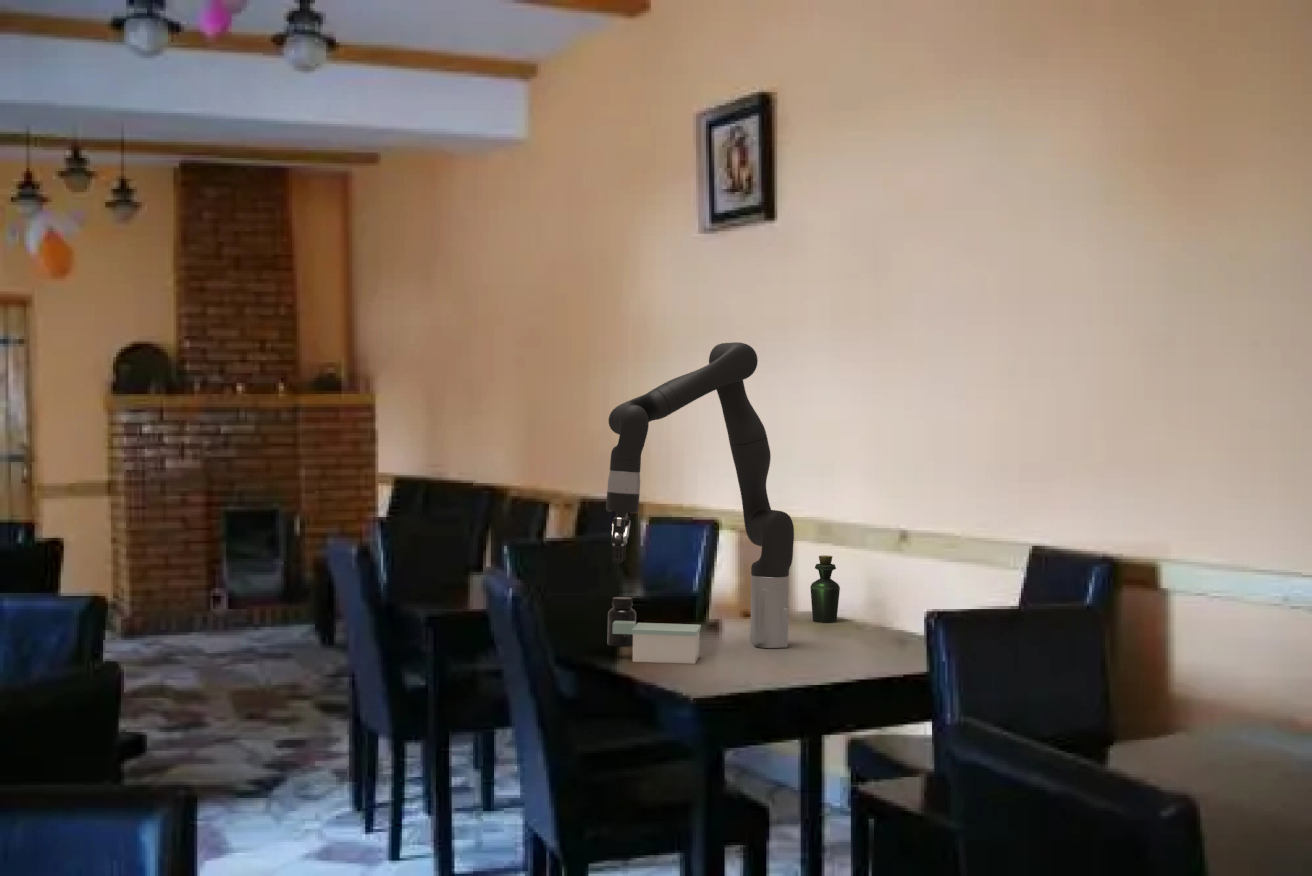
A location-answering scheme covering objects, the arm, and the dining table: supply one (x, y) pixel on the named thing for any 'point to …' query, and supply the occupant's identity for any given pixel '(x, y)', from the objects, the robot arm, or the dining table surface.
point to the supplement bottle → (620, 613)
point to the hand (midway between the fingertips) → (618, 561)
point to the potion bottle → (825, 593)
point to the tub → (665, 648)
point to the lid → (655, 628)
